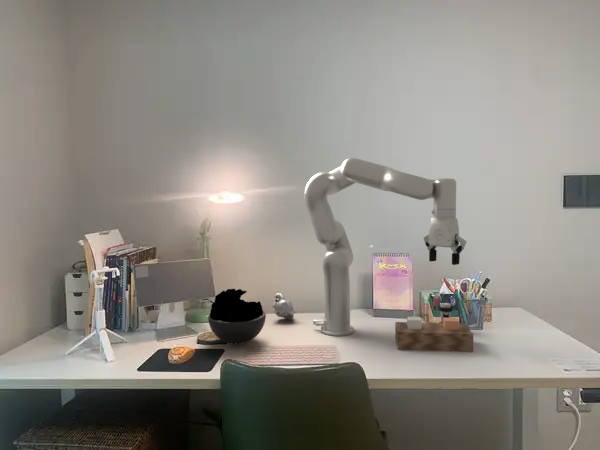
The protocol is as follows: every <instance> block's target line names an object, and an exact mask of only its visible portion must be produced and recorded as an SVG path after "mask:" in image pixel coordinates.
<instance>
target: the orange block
mask: <svg viewBox="0 0 600 450" xmlns="http://www.w3.org/2000/svg"><path fill="white" fill-rule="evenodd" d="M459 321H460V320H458V318H457V317H451V318H449V317H448V318H443V329H444V330H459V323H460V322H459Z"/></svg>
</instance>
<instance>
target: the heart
mask: <svg viewBox="0 0 600 450" xmlns="http://www.w3.org/2000/svg"><path fill="white" fill-rule="evenodd" d="M273 297H274V298H275V300H274V301H275V302H273V303H272V305H271V307H272V308H273V311H274V314H275V315H276V316H277V317H279V318H283V319H286V320H290V321H292V320H293V319H294V316H295V310H294V306H293V303H292V300H290V299H288V297H286V296H284V295H283V293H281V292H280V293H275V294H274V296H273Z"/></svg>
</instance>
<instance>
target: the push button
mask: <svg viewBox="0 0 600 450" xmlns="http://www.w3.org/2000/svg"><path fill="white" fill-rule="evenodd" d="M438 308H439V310H438V311H440V320H439V322H438V323H443V318H452V317H451V316H452V315H451V314H452V313H451V312H453V309H454V306H453V305H452V304H451V303H450V302H441V303H440V305H438Z"/></svg>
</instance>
